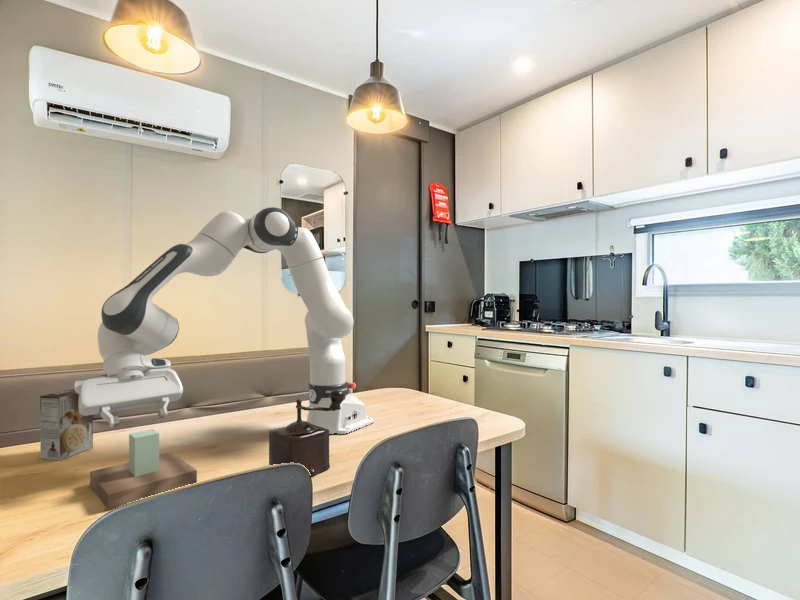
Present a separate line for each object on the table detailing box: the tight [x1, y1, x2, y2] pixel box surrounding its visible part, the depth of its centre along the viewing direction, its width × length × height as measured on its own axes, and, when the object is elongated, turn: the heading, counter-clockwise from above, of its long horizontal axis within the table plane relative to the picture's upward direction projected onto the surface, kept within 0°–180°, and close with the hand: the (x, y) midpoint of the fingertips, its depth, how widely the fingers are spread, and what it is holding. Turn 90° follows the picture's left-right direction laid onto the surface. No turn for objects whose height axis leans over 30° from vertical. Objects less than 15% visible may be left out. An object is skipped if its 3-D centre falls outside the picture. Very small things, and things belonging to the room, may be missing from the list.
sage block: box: [128, 428, 160, 477], centre depth 89 cm, size 4×4×8 cm
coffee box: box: [39, 388, 94, 461], centre depth 108 cm, size 9×6×16 cm
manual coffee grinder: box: [268, 390, 346, 477], centre depth 99 cm, size 16×11×18 cm
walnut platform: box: [89, 451, 198, 512], centre depth 89 cm, size 16×16×3 cm
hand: (140, 421), depth 91 cm, fingers open, 8 cm apart
